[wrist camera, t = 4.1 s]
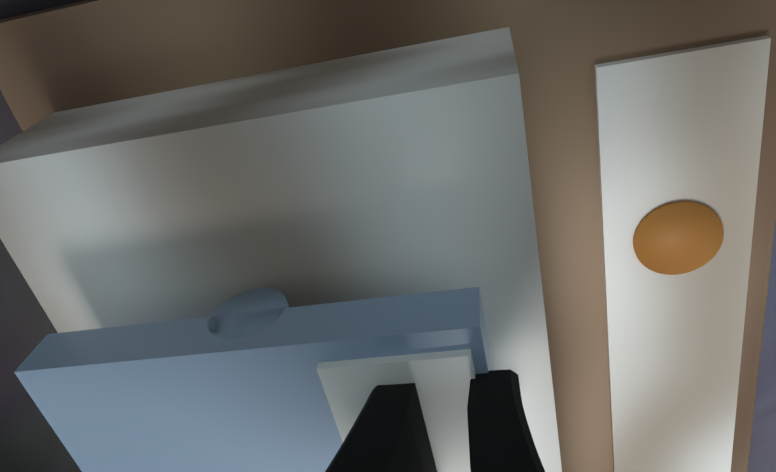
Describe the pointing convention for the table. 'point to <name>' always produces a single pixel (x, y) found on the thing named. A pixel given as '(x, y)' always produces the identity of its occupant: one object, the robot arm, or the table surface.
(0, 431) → the table surface
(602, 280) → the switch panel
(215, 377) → the blue rectangular block
